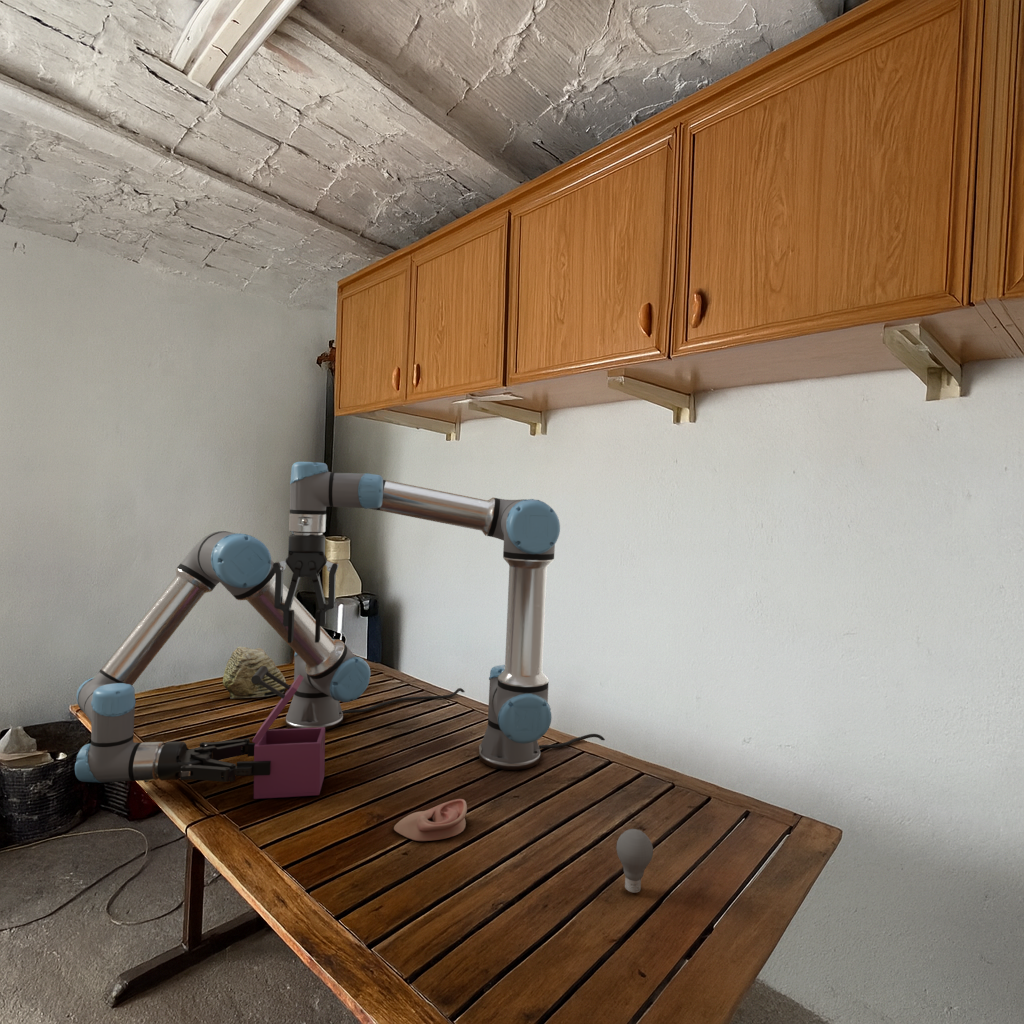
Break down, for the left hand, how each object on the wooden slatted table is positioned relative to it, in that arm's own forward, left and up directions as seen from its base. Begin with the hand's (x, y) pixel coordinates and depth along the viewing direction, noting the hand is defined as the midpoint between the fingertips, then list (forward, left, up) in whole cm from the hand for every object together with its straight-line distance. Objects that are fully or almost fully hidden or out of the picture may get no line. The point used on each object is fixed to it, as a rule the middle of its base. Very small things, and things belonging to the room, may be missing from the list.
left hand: (274, 758), depth 137 cm
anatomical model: (-12, +36, -7) cm, 39 cm away
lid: (-1, +1, +10) cm, 11 cm away
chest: (-3, +2, -6) cm, 7 cm away
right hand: (-4, +3, +25) cm, 26 cm away
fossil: (-30, -61, -7) cm, 68 cm away
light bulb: (-21, +75, -7) cm, 78 cm away
